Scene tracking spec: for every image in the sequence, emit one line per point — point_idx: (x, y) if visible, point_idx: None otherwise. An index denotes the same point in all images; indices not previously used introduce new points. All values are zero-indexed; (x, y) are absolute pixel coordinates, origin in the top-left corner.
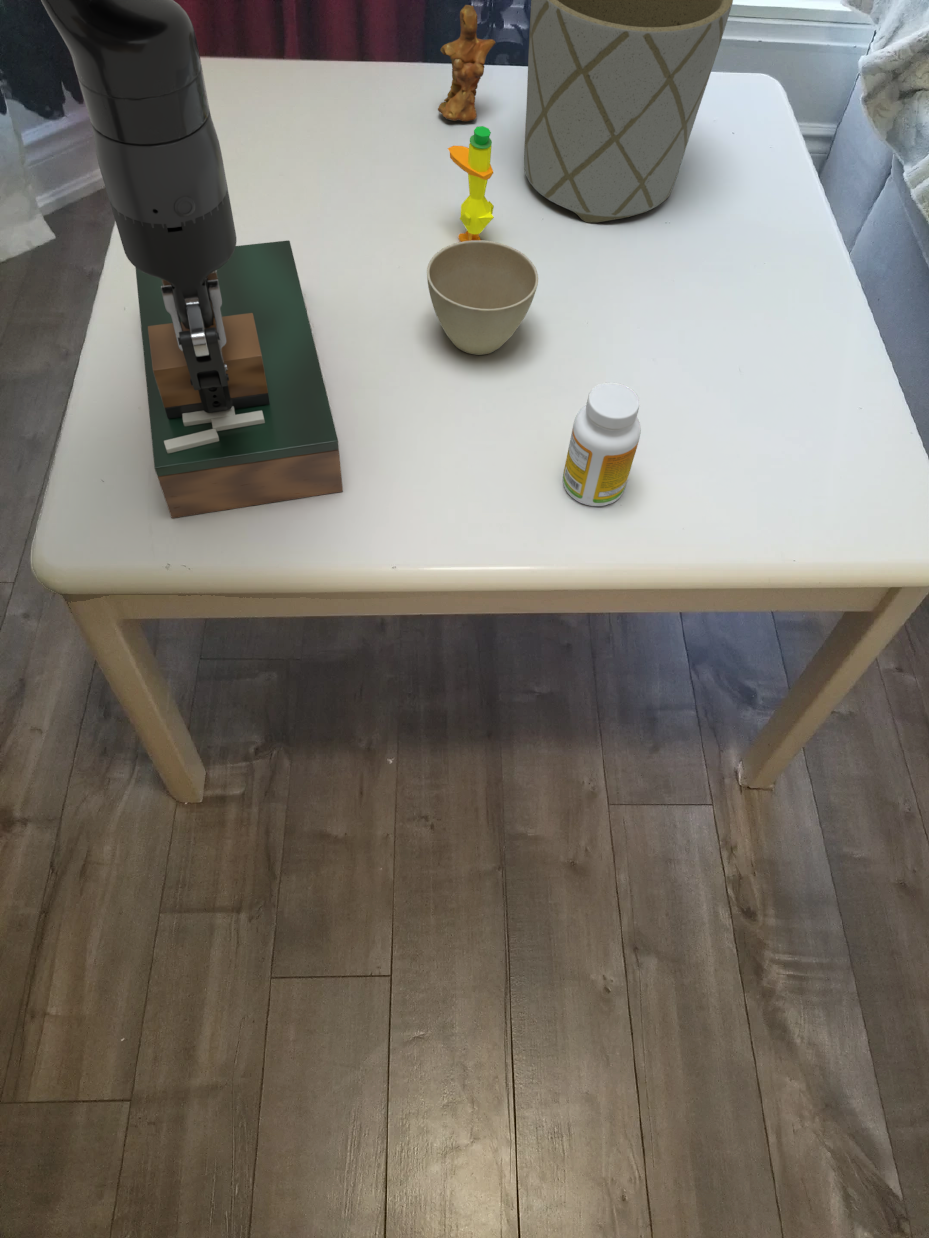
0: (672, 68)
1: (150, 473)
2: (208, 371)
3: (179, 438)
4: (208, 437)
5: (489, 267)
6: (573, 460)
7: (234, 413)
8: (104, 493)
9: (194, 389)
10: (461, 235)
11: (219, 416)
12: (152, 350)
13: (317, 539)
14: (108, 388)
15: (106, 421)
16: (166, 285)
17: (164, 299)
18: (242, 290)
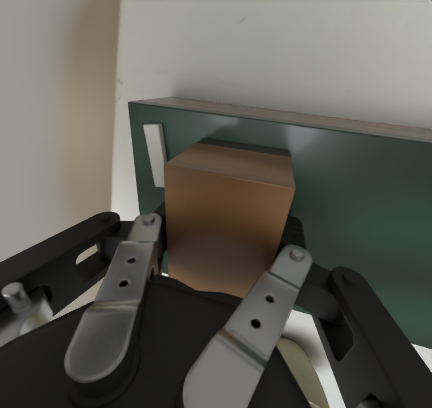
0: None
1: (235, 85)
2: (104, 249)
3: (158, 145)
4: (155, 177)
5: (312, 406)
6: None
7: None
8: (222, 20)
9: (98, 214)
10: None
11: None
12: (215, 177)
13: (135, 201)
14: (419, 49)
15: (349, 37)
16: (89, 392)
17: (74, 342)
18: (413, 290)
